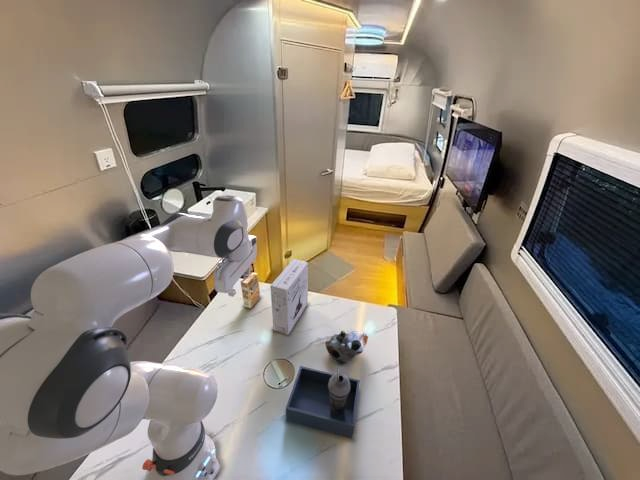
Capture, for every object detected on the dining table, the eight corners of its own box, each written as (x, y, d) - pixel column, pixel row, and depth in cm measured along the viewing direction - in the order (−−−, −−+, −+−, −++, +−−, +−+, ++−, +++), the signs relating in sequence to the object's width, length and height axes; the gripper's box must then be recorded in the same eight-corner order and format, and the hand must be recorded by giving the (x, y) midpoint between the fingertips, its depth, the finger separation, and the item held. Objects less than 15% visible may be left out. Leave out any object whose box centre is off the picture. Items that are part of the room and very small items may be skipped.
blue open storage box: (352, 439, 85) (354, 427, 82) (286, 420, 89) (285, 408, 86) (357, 392, 98) (359, 379, 95) (300, 377, 102) (300, 365, 99)
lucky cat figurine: (343, 332, 122) (361, 316, 114) (358, 357, 116) (378, 342, 109) (319, 343, 111) (337, 325, 104) (335, 371, 105) (355, 354, 98)
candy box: (250, 308, 133) (247, 283, 125) (243, 306, 134) (240, 281, 127) (260, 297, 140) (258, 273, 133) (253, 295, 141) (250, 271, 134)
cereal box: (288, 335, 120) (286, 290, 107) (273, 329, 122) (270, 285, 110) (307, 303, 137) (308, 262, 125) (294, 299, 140) (293, 258, 127)
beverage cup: (346, 420, 89) (352, 382, 79) (324, 415, 90) (327, 377, 80) (348, 399, 95) (354, 361, 85) (328, 394, 96) (331, 356, 86)
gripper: (225, 269, 71) (232, 309, 78) (259, 234, 88) (262, 269, 95) (204, 265, 72) (212, 305, 79) (241, 231, 90) (245, 266, 96)
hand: (239, 285), depth 87 cm, fingers open, 8 cm apart
